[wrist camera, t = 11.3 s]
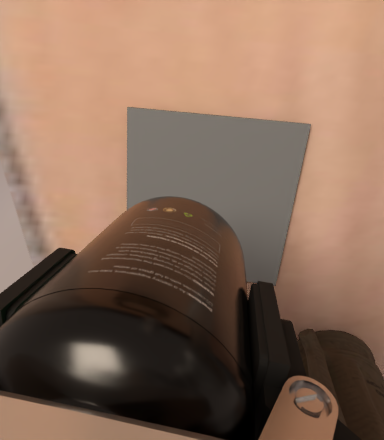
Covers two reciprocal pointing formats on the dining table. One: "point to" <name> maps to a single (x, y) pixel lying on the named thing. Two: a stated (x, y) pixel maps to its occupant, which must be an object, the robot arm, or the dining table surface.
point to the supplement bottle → (144, 325)
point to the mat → (222, 173)
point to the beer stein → (347, 378)
